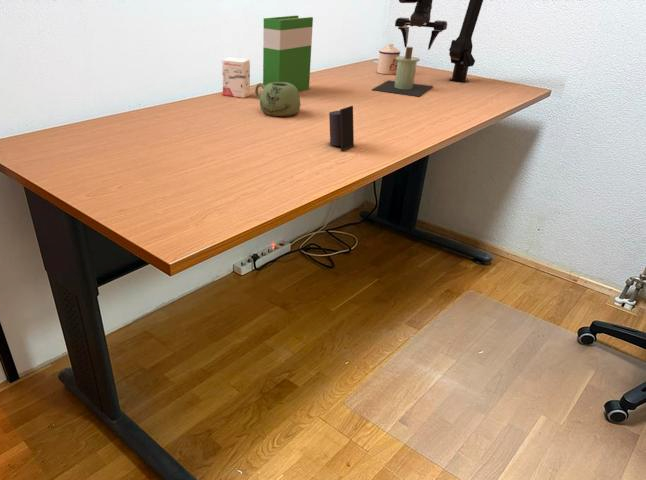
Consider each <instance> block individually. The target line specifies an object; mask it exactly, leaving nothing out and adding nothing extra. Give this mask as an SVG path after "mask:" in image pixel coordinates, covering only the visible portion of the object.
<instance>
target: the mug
mask: <svg viewBox="0 0 646 480" xmlns="http://www.w3.org/2000/svg"><path fill="white" fill-rule="evenodd" d="M260 87H261V89H262V90H261V91H262V92H261V93H259V88H260ZM254 94H255V97H256V98H257V99H258V100H259V107H260V111H262V112H263V113H265V114H266V115H268V116H273V117H290V116H295V115H296V114H297V113H299V112H300V109H301V97H300V93H299V91H298V90H297V88H296V87H295V86H294V85H293V84H290V83H287V82H273V83H269V84H267V85H266V86H265V85H263V83H261V82H259V83H257V84H256V85H255V88H254Z"/></svg>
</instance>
